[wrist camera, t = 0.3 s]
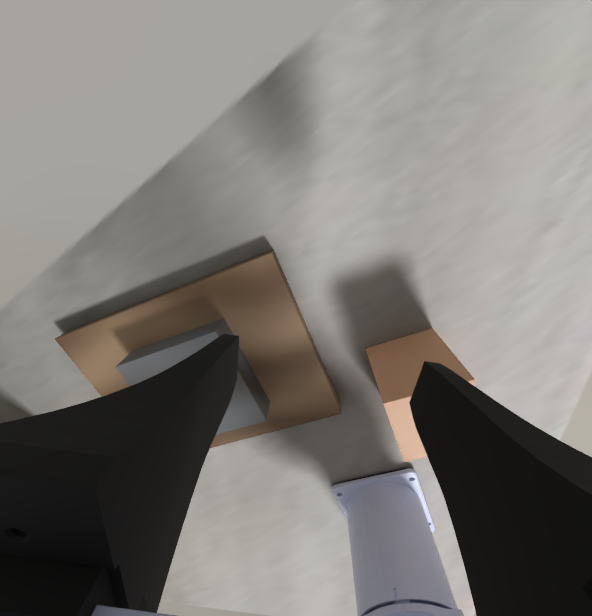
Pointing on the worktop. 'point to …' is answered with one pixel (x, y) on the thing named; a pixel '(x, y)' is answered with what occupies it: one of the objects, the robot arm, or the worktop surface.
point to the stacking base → (249, 322)
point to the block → (408, 381)
